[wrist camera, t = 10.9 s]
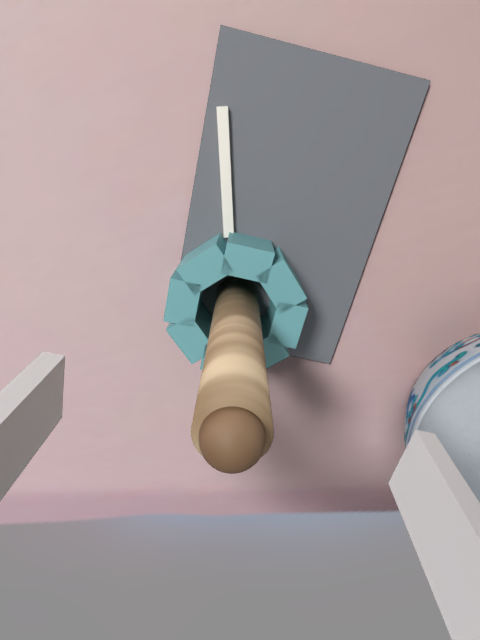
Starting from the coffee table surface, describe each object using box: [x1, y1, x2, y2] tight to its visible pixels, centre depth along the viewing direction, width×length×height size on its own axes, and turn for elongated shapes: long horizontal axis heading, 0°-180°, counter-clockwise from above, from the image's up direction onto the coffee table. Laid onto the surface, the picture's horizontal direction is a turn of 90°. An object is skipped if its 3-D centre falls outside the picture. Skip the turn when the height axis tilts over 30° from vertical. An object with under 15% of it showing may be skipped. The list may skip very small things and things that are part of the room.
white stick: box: [216, 106, 234, 238], centre depth 25 cm, size 8×1×1 cm, turn 2°
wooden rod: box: [191, 276, 274, 474], centre depth 21 cm, size 3×3×17 cm
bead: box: [164, 232, 308, 370], centre depth 27 cm, size 9×9×4 cm
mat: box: [181, 25, 430, 364], centre depth 27 cm, size 20×13×1 cm, turn 167°
